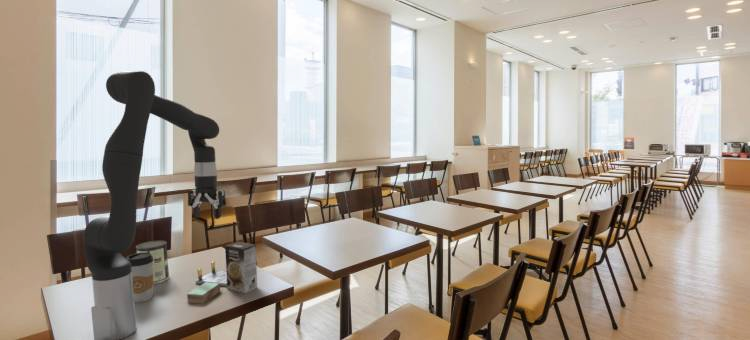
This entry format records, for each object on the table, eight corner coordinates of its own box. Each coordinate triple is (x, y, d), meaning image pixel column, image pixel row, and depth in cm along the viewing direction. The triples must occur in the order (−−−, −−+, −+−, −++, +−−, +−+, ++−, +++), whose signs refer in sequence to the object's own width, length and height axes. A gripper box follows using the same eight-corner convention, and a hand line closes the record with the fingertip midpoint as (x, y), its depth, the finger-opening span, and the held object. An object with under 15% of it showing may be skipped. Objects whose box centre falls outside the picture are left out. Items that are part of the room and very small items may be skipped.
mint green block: (202, 304, 130) (202, 295, 130) (187, 303, 131) (187, 293, 131) (220, 291, 140) (219, 283, 140) (206, 290, 141) (205, 282, 141)
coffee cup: (124, 305, 129) (120, 261, 128) (132, 295, 137) (128, 253, 136) (152, 301, 132) (149, 258, 130) (158, 292, 140) (155, 251, 138)
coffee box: (226, 289, 141) (224, 245, 140) (240, 282, 147) (238, 240, 145) (244, 293, 137) (242, 248, 135) (258, 287, 143) (256, 243, 141)
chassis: (228, 286, 143) (228, 273, 143) (195, 283, 147) (194, 270, 146) (245, 275, 154) (245, 262, 154) (214, 273, 157) (213, 260, 157)
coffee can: (153, 273, 157) (151, 239, 156) (175, 276, 155) (173, 241, 153) (132, 283, 147) (129, 247, 146) (154, 286, 145) (152, 249, 143)
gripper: (181, 175, 142) (183, 219, 143) (216, 175, 139) (218, 221, 140) (195, 173, 149) (197, 215, 151) (228, 173, 146) (230, 216, 148)
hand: (207, 218), depth 145 cm, fingers open, 8 cm apart
